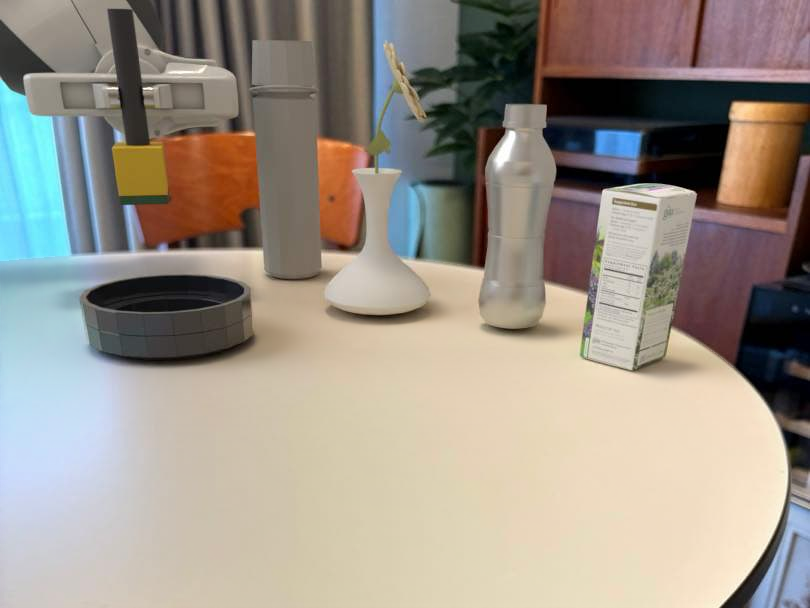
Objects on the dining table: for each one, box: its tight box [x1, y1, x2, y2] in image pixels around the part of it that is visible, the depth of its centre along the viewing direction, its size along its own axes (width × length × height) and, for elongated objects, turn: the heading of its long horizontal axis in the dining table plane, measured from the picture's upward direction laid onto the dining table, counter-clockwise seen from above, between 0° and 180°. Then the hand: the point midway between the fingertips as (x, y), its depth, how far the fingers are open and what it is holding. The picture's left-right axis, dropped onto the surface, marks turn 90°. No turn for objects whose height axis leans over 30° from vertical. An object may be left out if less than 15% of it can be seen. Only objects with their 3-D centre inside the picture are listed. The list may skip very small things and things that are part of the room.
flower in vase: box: [323, 39, 432, 316], centre depth 83 cm, size 13×11×25 cm
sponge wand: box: [107, 9, 170, 206], centre depth 78 cm, size 4×6×16 cm
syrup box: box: [579, 183, 698, 371], centre depth 72 cm, size 6×6×14 cm
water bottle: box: [248, 39, 323, 280], centre depth 98 cm, size 9×8×25 cm
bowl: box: [78, 273, 255, 361], centre depth 77 cm, size 15×15×4 cm
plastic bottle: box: [478, 103, 557, 330], centre depth 79 cm, size 6×7×20 cm
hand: (131, 97), depth 77 cm, fingers closed on sponge wand, 2 cm apart
